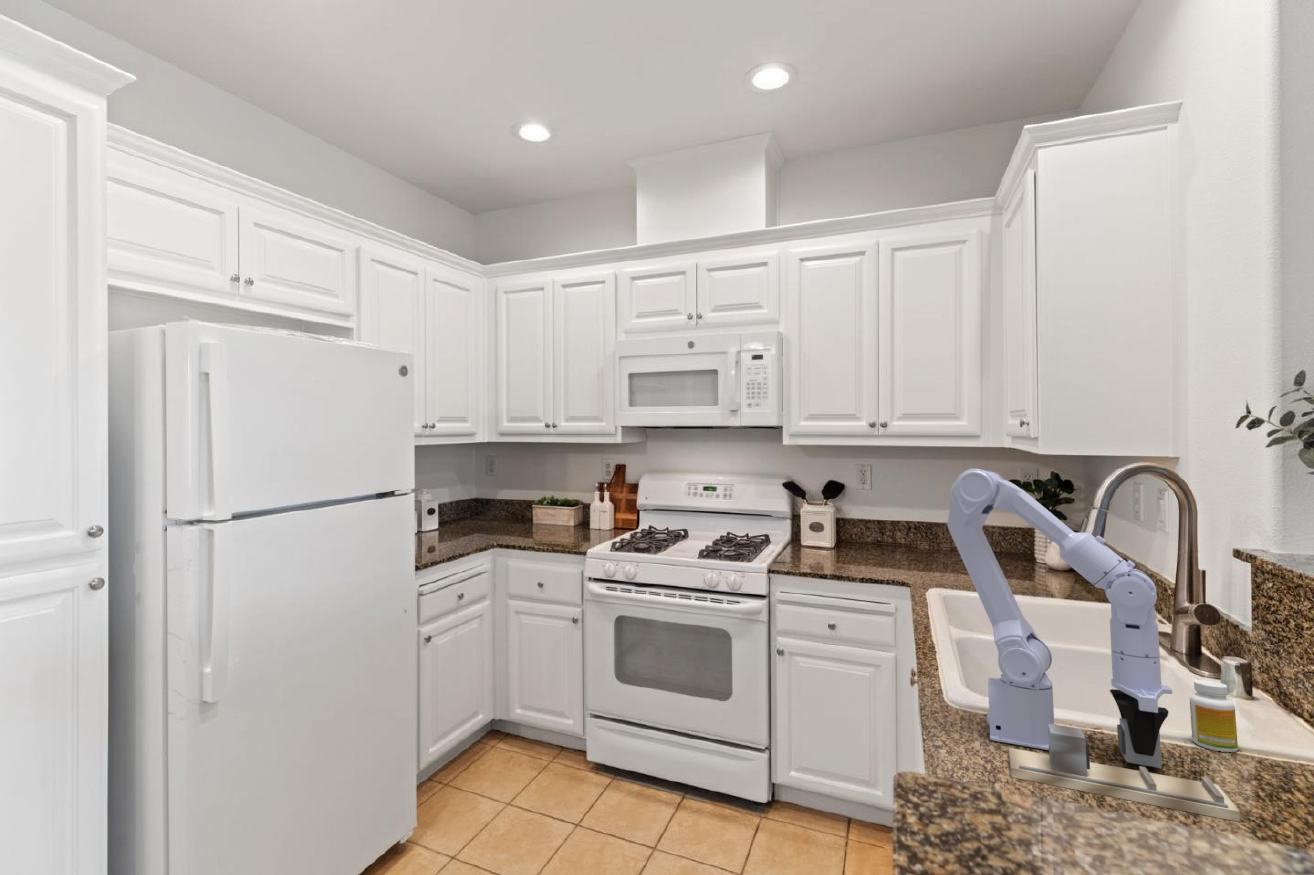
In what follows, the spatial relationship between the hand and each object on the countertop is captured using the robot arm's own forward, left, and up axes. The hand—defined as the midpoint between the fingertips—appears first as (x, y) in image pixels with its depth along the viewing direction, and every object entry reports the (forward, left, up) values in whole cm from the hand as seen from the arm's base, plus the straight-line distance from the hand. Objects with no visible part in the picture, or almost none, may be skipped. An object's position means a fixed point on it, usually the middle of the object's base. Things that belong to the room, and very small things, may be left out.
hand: (1140, 748), depth 90 cm
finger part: (0, 0, -2) cm, 2 cm away
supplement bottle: (+12, +15, -3) cm, 19 cm away
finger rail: (-5, -10, -2) cm, 11 cm away
